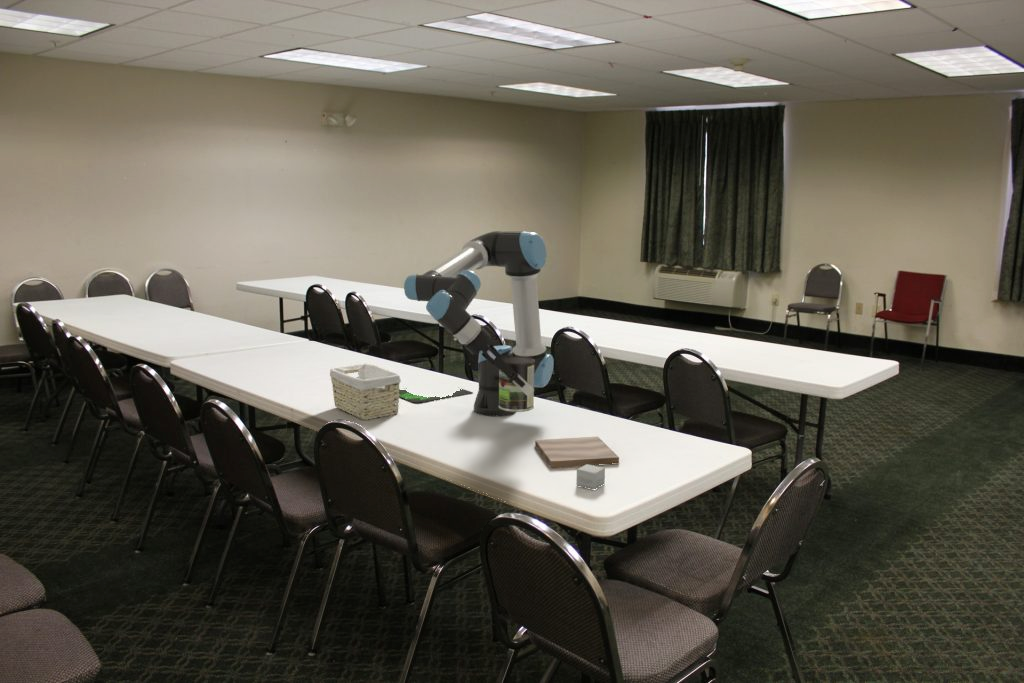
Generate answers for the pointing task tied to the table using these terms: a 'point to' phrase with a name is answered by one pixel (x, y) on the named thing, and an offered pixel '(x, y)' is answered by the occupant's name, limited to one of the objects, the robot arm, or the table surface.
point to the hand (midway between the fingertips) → (526, 388)
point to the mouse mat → (421, 399)
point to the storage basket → (366, 390)
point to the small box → (590, 476)
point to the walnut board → (575, 452)
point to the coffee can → (509, 392)
